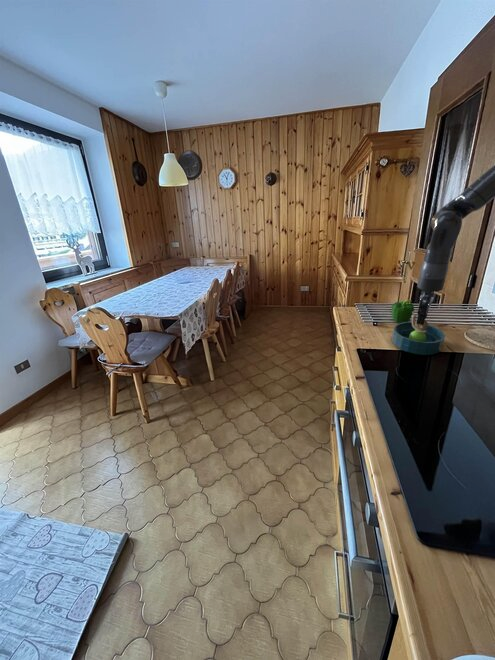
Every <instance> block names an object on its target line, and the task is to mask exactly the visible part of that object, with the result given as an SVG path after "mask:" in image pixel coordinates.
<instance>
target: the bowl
mask: <svg viewBox="0 0 495 660" xmlns="http://www.w3.org/2000/svg"><path fill="white" fill-rule="evenodd" d="M413 331H415V329H414V328H413V326H412V321H408V322H403V323H396V325H394V327H393V331H392V335H391V343H392V344H393V345H394V346H395V347H396V348H398V349H399V350H402V351H404V352H406V353H409V354H415V355H419V356H420V355H421V356H432V355H435V354H439V353H440V352H441V351H442V348H443V345H444V342H445V338H446V334H445V333H444V331H443V330H441V329H440V328H438V327H436V326H434V325H432V324H428V328H427V329H426V331H427V332H425V335H426V341H425V342H420V341H415V340H411V339H409V335H410V333H411V332H413Z"/></svg>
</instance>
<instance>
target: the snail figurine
mask: <svg viewBox="0 0 495 660" xmlns="http://www.w3.org/2000/svg"><path fill="white" fill-rule="evenodd" d="M415 312H416V311H415V310H414V312H412V313H413V314H412V317H411V322H412V326H413V328H414V329H415V331H413V332H411V333H410V335H409V339H411V340H415V341H420V342H425V341H426V335H425V332H427V331H426V329H427V328H428V325H429V323H428V321H427V320H426V319H425V321H424V324H423V325H420V324H417V323H416V322H417V315H416V314H415Z"/></svg>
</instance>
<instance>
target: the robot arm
mask: <svg viewBox="0 0 495 660" xmlns="http://www.w3.org/2000/svg"><path fill="white" fill-rule="evenodd" d="M494 199H495V164H494V165H493V166H491V167H490V168H489V169H487V170H486V171H485V172H483V174H481V175H479V177H478V178H477V179H475V181H473V182H472V183H471V184H470V185H469V186H467V187H466V189H464V191H462V192H461V193H460V194H459V195H458V196H456V197H454V198H453V199H451V200H450V201H449V202H448V203H446V204H445V205H444V206H442V208H440V209H439V210H438V211H437V212H436V213H435V214H433V216H432V219H431V221H430V227H431V229H432V233H431V234H432V235H431V238H430V242H429V243H428V245H427V246H426V249H425V253H424V258H423V262H422V264H421V267H420V271H419V276H418V280H417V285H416V288H417V289H418V290H421V291H422V292H421V293H420V296H419V301H418V306H417V307H418V309H417V317H416V320H417V322H416V321H415V322H416V323H417V324H420V325H423V324H424V321H425V320H426V319H427V317H428V313H429V309H431V306H432V305H433V302H434V299H435V297H436V293H438V292H441V291H443V290H444V287H445V283H446V279H447V276H448V272H449V266H450V261H451V257H452V253H453V248H454V247H455V245H456V242H457V240H458V238H459V235H460V233H461V230H462V226H463V220H464V219H465V218H467V216H469V215H470V214H472V213H474V212H478V211H479V210H481V209H483V207H485V206H487V204H489V203H490V202H491V201H492V200H494Z"/></svg>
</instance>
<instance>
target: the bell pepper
mask: <svg viewBox="0 0 495 660" xmlns="http://www.w3.org/2000/svg"><path fill="white" fill-rule="evenodd" d="M414 311H415V306H414V304H413V303H412V300H411V299H406V300H404V301H403V300H401V301H399V302H397V301H395V302H394V303H393V305H392V306H391V317H392V320H393V321H394V322H395V323H396V324H399V323H403V322H410V320H411V319H412V314H414V313H412V312H414Z"/></svg>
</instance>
